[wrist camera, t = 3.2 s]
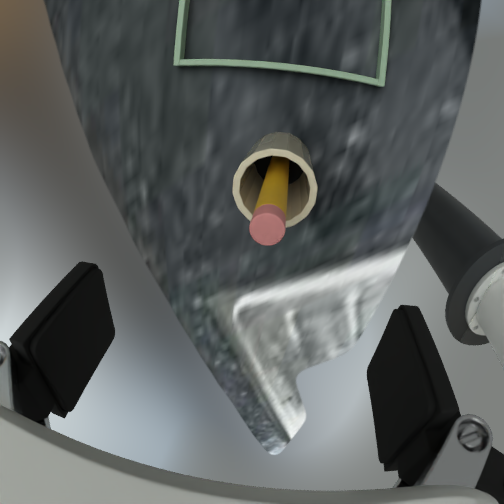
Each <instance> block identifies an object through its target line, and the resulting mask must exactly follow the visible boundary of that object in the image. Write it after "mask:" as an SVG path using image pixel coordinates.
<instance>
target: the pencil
mask: <svg viewBox="0 0 504 504" xmlns="http://www.w3.org/2000/svg"><path fill="white" fill-rule="evenodd" d="M288 179H289V159H288V158H286V157H280V156H272V158H271V161H270V164H269V167H268V170H267V173H266V176H265V179H264V182H263V185H262V188H261V191H260V194H259V198H258V201H257V204H256V207H255V210H254V213H253V216H252V219H251V222H250V226H249V231H250V234H251V236H252V238H253V239H254V240H255V241H256V242H258V243H259V244H262V245H274V244H276V243H278V242H279V241H280V240H281V239H282V238H283V237H284V234H285V226H286V211H287V196H288Z"/></svg>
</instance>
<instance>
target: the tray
mask: <svg viewBox="0 0 504 504" xmlns="http://www.w3.org/2000/svg"><path fill="white" fill-rule="evenodd" d="M189 3H190V0H180V1H179V10H178V19H177V29H176V40H175V52H174V66H225V67H247V68H261V69H273V70H283V71H292V72H300V73H308V74H315V75H321V76H328V77H333V78H339V79H345V80H350V81H355V82H360V83H365V84H369V85H374V86H378V87H384V85H385V76H386V67H387V57H388V47H389V34H390V19H391V0H382V12H381V28H380V41H379V52H378V62H377V72H376V79H375V78H370V77H366V76H361V75H356V74H351V73H346V72H341V71H335V70H329V69H323V68H317V67H310V66H302V65H294V64H285V63H275V62H264V61H249V60H228V59H184V54H185V42H186V31H187V21H188V12H189Z"/></svg>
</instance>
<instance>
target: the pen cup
mask: <svg viewBox="0 0 504 504" xmlns="http://www.w3.org/2000/svg"><path fill="white" fill-rule="evenodd" d="M268 156H280V157H286V158H288V159H290V160H292V161H293V162H295V163H297V164H298V165H299V166H300V167H301V168H302V170H303V173H302V175H301V176H300V178H299V179H297V180H296V181H295V182H293V183H292V184H288V196H287V211H286V226H285V228H286V227H290V226H293V225H295V224H297V223H298V222H300V221H301V220H303V219H304V218H305V217H306V216H307V215H308V214H309V212H310V211H311V209H312V208H313V206H314V205H315V202H316V195H317V189H318V188H317V183H316V179H315V175H314V171H313V167H312V163H311V159H310V155H309V152H308V149H307V147H306V146H305V145H304V143H303V142H302V141H301V140H300V139H299V138H297V137H295V136H293V135H291V134H289V133H282V132H275V133H271V134H268V135H265V136H264V137H262V138H261V139H260V140H258V141H257V142H256V143H255V145H254V146H253V147H252V149H251V150H250V152H249V153H248V154H247V156H246V157H245V158H244V160H243V161H242V163H241V164H240V166H239V168H238V170H237V172H236V174H235V176H234V178H233V196H234V199H235V201H236V204H237V207H238V209H239V210H240V211H241V212H242V213H243V214H244V216H245V217H246V218H247V219H249V220H250V221H251V219H252V216H253V213H254V210H255V207H256V204H257V201H258V198H259V194H260V191H261V188H262V185H263V182H264V180H263V179H262V177H261V176H260V175H259V174H258V172H257V169H256V166H255V161H256V160H257V159H260V158H264V157H268Z"/></svg>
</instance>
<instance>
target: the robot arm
mask: <svg viewBox="0 0 504 504" xmlns="http://www.w3.org/2000/svg"><path fill="white" fill-rule="evenodd" d="M465 318H466V322H467V324H468V326H469V328H470V329H471V330H472V331H473V332H474V333H476V334H478V335H486V337H487V339H488V340H489V342H490V344H491V346H492V348H493V350H494V352H495V353H496V355H497V357H498V359H499V361H500V363H501V365H502V367H503V369H504V262H503V263H501V264H499V265H497V266H495V267H494V268H492V269H491V270H490V271H488V272H487V273H486V274H485V275H484V276H483V277H482V278H481V279H480V281H479V282H478V283H477V284H476V286H475V287H474V289H473V290H472V292H471V294H470V296H469V298H468V301H467V304H466V310H465ZM114 336H115V328H114V324H113V320H112V316H111V311H110V307H109V303H108V298H107V293H106V289H105V283H104V278H103V273H102V271H101V270H100V269H99V268H98V266H97V265H96V264H93V263H87V262H79V263H78V264H77V265H76V266H75V267H74V268H73V269H72V270H71V271H70V272H69V273H68V274H67V275H66V276H65V277H64V278H63V279H62V280H61V281H60V283H59V284H58V285H57V286H56V287H55V288H54V289H53V290H52V291H51V292H50V293H49V294H48V295H47V296H46V298H45V299H44V300H43V301H42V302H41V303H40V304H39V305H38V306H37V307H36V309H35V310H34V311H33V312H32V313H31V314H30V315H29V317H28V318H27V319H26V320H25V321H24V322H23V323H22V325H21V326H20V327H19V328H18V329H17V330H16V332H15V333H14V334H13V335H12V336H11V338H10V341H11V343H12V345H11V346H10V347H8V346H7V344H6V343H4V342H2V341H0V504H504V454H502V453H501V452H499V451H498V450H496V449H495V448H493V447H492V441H493V437H492V432H491V429H490V427H489V426H488V424H487V423H486V422H485V421H484V420H483V419H481V418H480V417H478V416H476V415H471V414H467V415H463V416H461V414H460V412H459V407H458V404H457V401H456V398H455V395H454V393H453V390H452V387H451V384H450V381H449V379H448V376H447V373H446V371H445V368H444V365H443V363H442V360H441V358H440V355H439V353H438V350H437V348H436V345H435V343H434V340H433V338H432V336H431V333H430V331H429V329H428V327H427V324H426V322H425V320H424V317H423V315H422V313H421V311H420V309H419V308H418V307H417V306H409V305H400V306H399V308H398V309H394V310H393V312H392V314H391V317H390V319H389V322H388V324H387V326H386V329H385V331H384V334H383V336H382V338H381V340H380V342H379V344H378V347H377V349H376V351H375V353H374V355H373V357H372V359H371V362H370V364H369V366H368V369H367V380H368V386H369V392H370V398H371V405H372V411H373V418H374V425H375V433H376V440H377V448H378V457H379V461H380V463H384V471H396V470H398V474H399V479H398V481H397V482H396V484H395V485H394V486H393V488H390V489H375V490H349V491H309V490H307V491H306V490H288V489H275V488H274V489H273V488H264V487H254V486H245V485H238V484H232V483H225V482H219V481H213V480H208V479H203V478H197V477H192V476H188V475H183V474H179V473H175V472H170V471H167V470H163V469H159V468H155V467H152V466H148V465H145V464H141V463H138V462H134V461H131V460H128V459H125V458H122V457H119V456H116V455H113V454H110V453H108V452H105V451H102V450H99V449H96V448H94V447H91V446H89V445H86V444H84V443H81V442H79V441H76V440H74V439H71V438H69V437H67V436H65V435H62V434H60V433H58V432H56V431H54V430H51V427H50V423H49V418H48V416H49V414H50V412H52V413H53V414H56V415H58V416H60V417H63V418H65V417H66V415H67V413H68V412H71V411H72V410H73V409H74V407H75V406H76V404H77V402H78V400H79V398H80V396H81V395H82V393H83V391H84V389H85V387H86V385H87V384H88V382H89V380H90V379H91V377H92V375H93V373H94V371H95V370H96V368H97V366H98V365H99V363H100V361H101V359H102V358H103V356H104V354H105V353H106V351H107V349H108V348H109V346H110V344H111V343H112V341H113V339H114Z"/></svg>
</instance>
